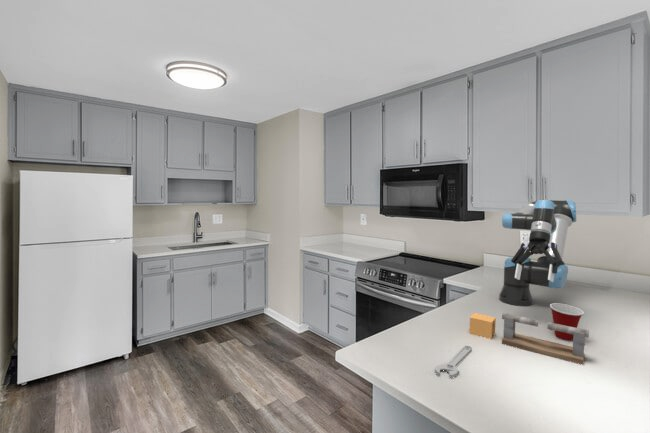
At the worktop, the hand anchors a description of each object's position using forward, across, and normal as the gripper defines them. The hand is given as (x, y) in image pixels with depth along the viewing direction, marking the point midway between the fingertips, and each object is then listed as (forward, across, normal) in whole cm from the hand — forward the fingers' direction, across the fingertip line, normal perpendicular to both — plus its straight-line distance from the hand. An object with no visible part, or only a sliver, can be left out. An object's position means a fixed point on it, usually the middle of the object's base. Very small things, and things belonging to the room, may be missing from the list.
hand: (533, 279), depth 138 cm
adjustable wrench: (+43, +2, -37) cm, 57 cm away
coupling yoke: (+28, -8, -14) cm, 32 cm away
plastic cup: (+20, +9, +10) cm, 24 cm away
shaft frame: (+28, +10, -6) cm, 30 cm away
